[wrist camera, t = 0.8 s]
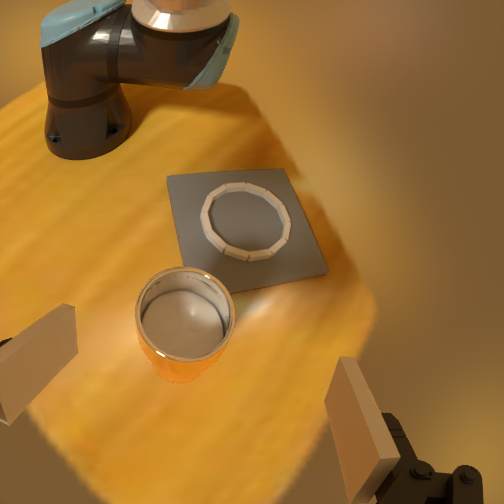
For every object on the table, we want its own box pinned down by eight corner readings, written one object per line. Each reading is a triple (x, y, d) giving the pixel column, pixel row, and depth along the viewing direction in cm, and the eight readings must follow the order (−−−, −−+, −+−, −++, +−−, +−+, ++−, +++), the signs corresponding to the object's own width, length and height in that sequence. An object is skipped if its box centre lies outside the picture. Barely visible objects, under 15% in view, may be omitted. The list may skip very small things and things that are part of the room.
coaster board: (166, 181, 43) (167, 171, 42) (280, 173, 50) (285, 164, 48) (191, 300, 36) (193, 293, 34) (325, 274, 42) (332, 267, 40)
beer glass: (203, 322, 35) (227, 259, 22) (215, 382, 32) (249, 356, 19) (142, 329, 33) (127, 267, 20) (151, 391, 30) (138, 371, 17)
